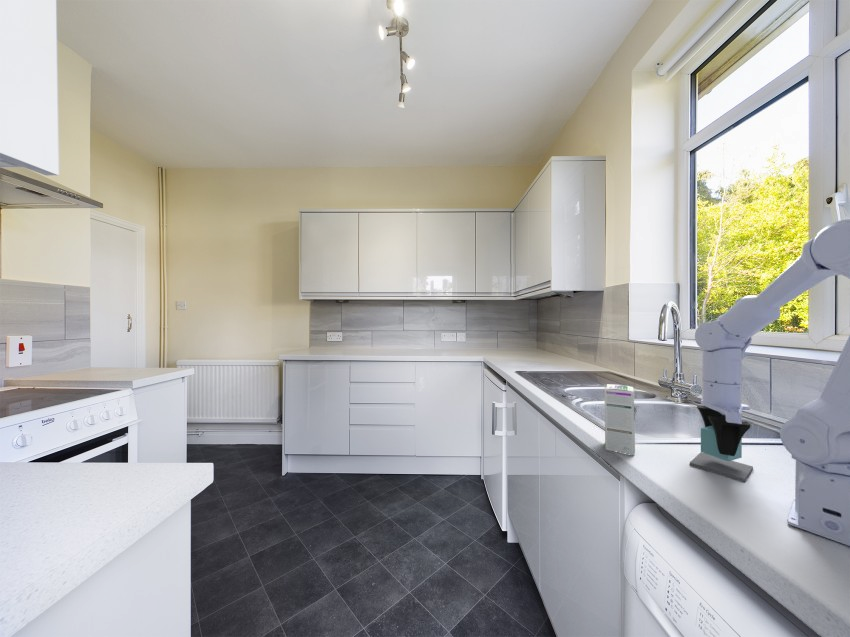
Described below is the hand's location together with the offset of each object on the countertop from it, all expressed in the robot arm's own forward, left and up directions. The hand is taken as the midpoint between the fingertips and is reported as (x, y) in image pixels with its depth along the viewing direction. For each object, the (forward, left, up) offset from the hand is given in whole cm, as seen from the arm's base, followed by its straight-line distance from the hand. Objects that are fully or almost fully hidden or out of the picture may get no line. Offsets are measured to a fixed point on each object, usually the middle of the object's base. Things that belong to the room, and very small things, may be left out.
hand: (720, 447), depth 63 cm
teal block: (0, 0, -1) cm, 1 cm away
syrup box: (-7, +16, -4) cm, 18 cm away
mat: (0, 0, -4) cm, 4 cm away
